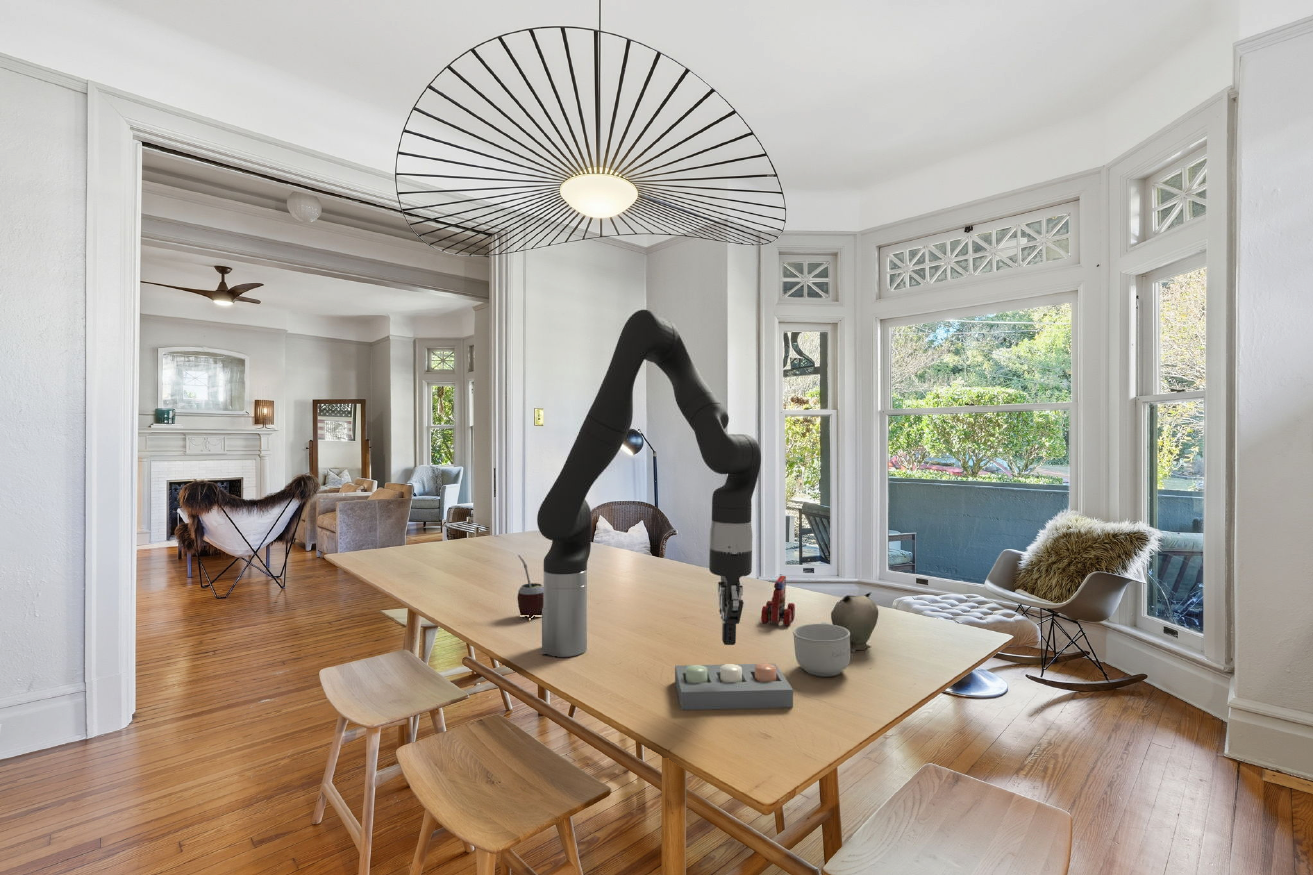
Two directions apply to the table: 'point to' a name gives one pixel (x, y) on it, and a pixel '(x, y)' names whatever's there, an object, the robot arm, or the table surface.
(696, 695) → the console
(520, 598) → the mate gourd
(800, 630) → the teacup
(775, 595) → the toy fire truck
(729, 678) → the cream button
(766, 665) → the terracotta button
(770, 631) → the table surface
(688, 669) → the sage button
